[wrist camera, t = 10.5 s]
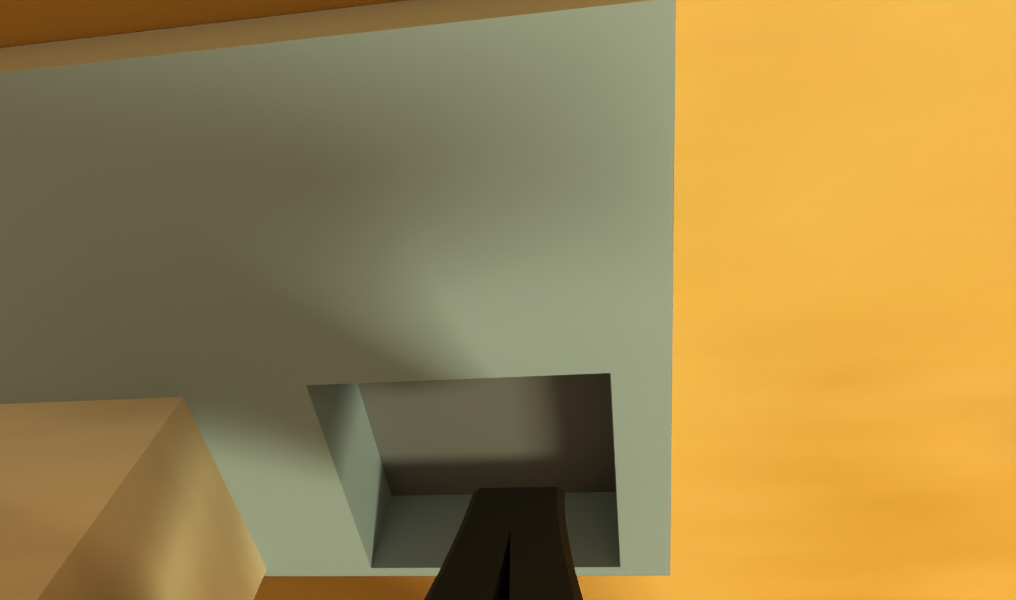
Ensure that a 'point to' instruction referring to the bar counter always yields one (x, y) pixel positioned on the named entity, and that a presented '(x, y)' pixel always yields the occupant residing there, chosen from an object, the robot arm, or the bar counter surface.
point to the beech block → (117, 506)
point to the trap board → (363, 263)
